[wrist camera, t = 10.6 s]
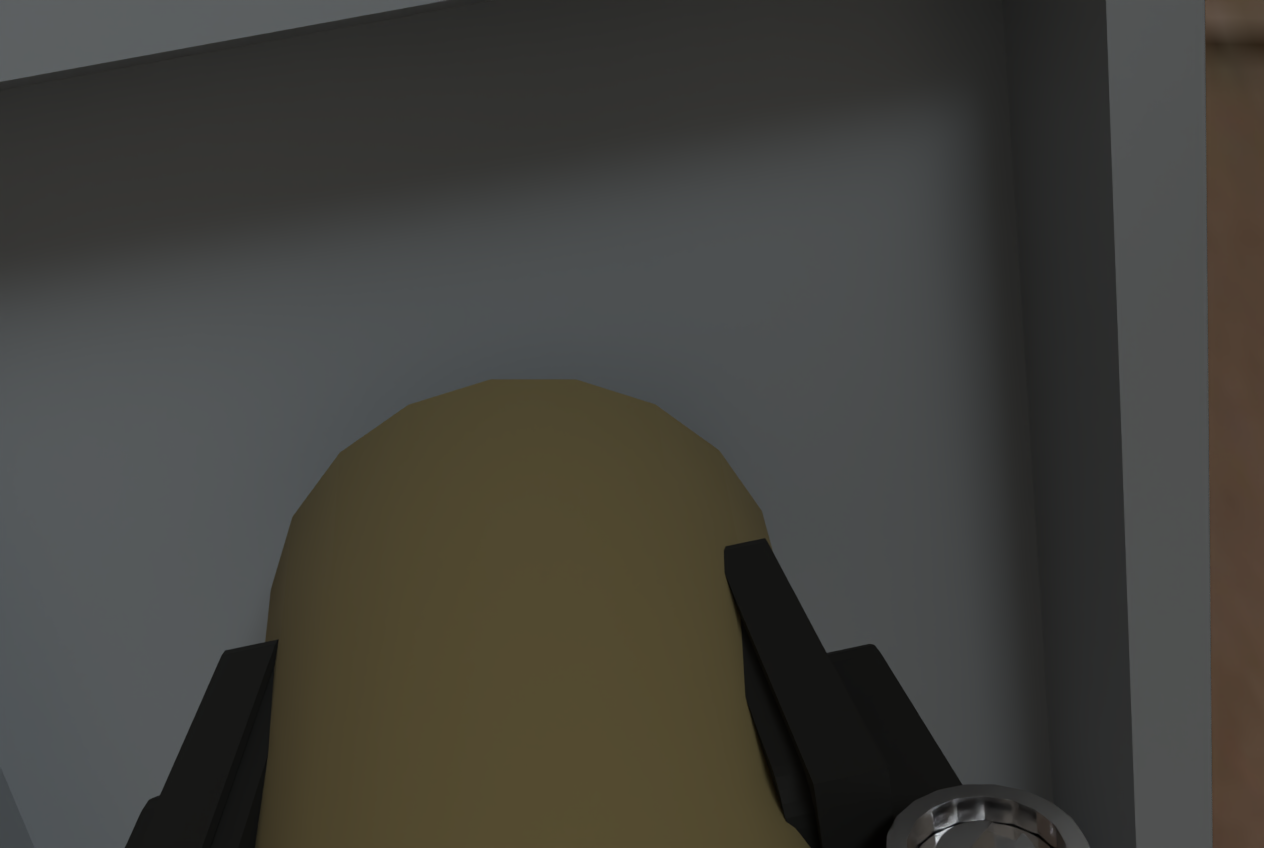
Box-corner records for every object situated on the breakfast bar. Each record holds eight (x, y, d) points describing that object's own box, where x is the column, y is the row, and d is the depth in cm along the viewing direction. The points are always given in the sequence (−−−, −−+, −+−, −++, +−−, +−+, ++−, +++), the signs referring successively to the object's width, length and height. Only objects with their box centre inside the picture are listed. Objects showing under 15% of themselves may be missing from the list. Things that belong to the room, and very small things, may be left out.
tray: (1052, -195, 13) (1202, -257, 11) (1104, 903, 19) (1213, 1057, 16) (-363, 58, 13) (-610, 63, 10) (108, 1132, 18) (35, 1338, 15)
